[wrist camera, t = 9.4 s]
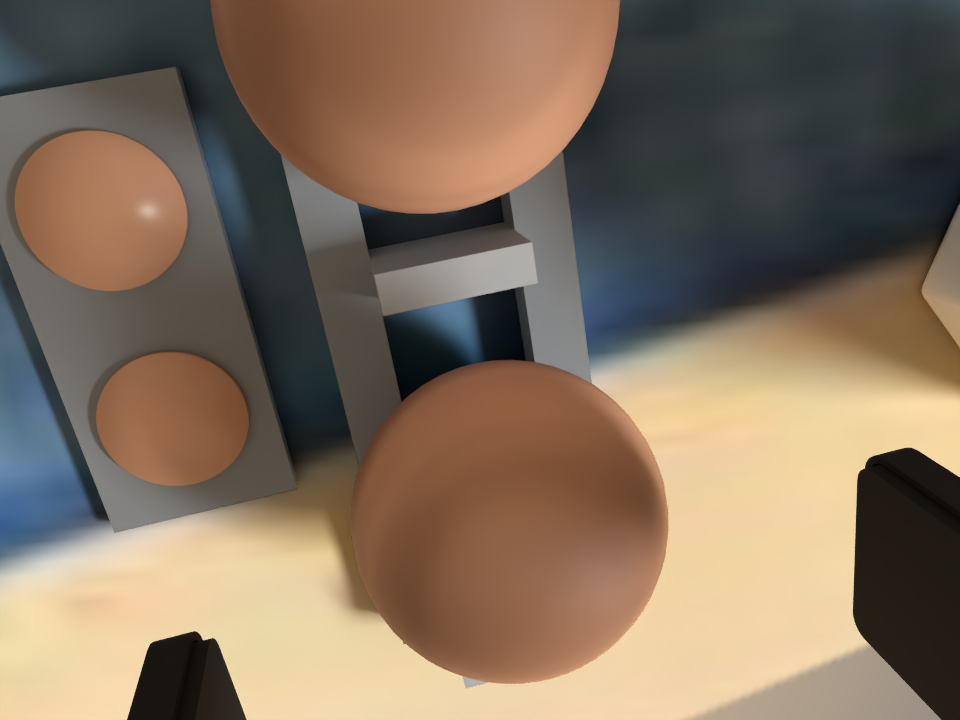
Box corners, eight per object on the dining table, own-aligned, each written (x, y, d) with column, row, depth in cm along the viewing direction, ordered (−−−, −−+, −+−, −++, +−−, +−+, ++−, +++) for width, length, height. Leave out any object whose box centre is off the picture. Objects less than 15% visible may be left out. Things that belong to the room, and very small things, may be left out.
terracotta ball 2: (318, 355, 16) (313, 496, 11) (590, 296, 17) (719, 399, 11) (378, 586, 18) (399, 804, 13) (617, 526, 19) (736, 707, 13)
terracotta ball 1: (191, -133, 13) (91, -303, 7) (531, -182, 14) (673, -367, 8) (281, 216, 15) (256, 289, 10) (572, 160, 16) (706, 196, 10)
